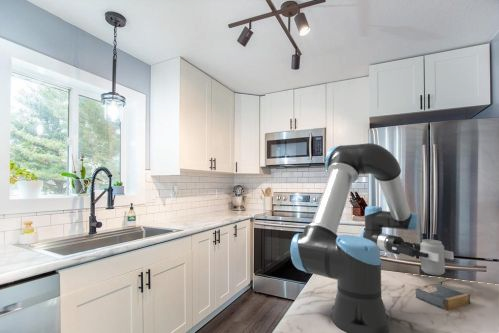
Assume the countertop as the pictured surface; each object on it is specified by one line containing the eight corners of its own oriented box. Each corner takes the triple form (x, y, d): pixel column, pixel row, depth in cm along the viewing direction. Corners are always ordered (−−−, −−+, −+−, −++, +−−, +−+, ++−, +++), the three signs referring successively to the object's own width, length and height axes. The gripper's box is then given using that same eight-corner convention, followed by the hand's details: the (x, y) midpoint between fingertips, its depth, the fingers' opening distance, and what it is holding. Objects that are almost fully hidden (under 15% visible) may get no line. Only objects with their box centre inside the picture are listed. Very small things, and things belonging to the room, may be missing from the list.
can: (431, 268, 107) (430, 238, 107) (450, 275, 99) (448, 242, 100) (416, 270, 105) (415, 238, 105) (434, 276, 97) (433, 243, 98)
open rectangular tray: (446, 310, 83) (446, 300, 83) (415, 297, 92) (415, 288, 93) (470, 303, 88) (470, 294, 88) (438, 292, 97) (438, 283, 97)
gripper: (407, 250, 123) (463, 264, 102) (374, 254, 115) (427, 270, 94) (407, 233, 123) (462, 244, 102) (373, 236, 116) (426, 248, 94)
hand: (445, 256), depth 98 cm, fingers closed on can, 7 cm apart
